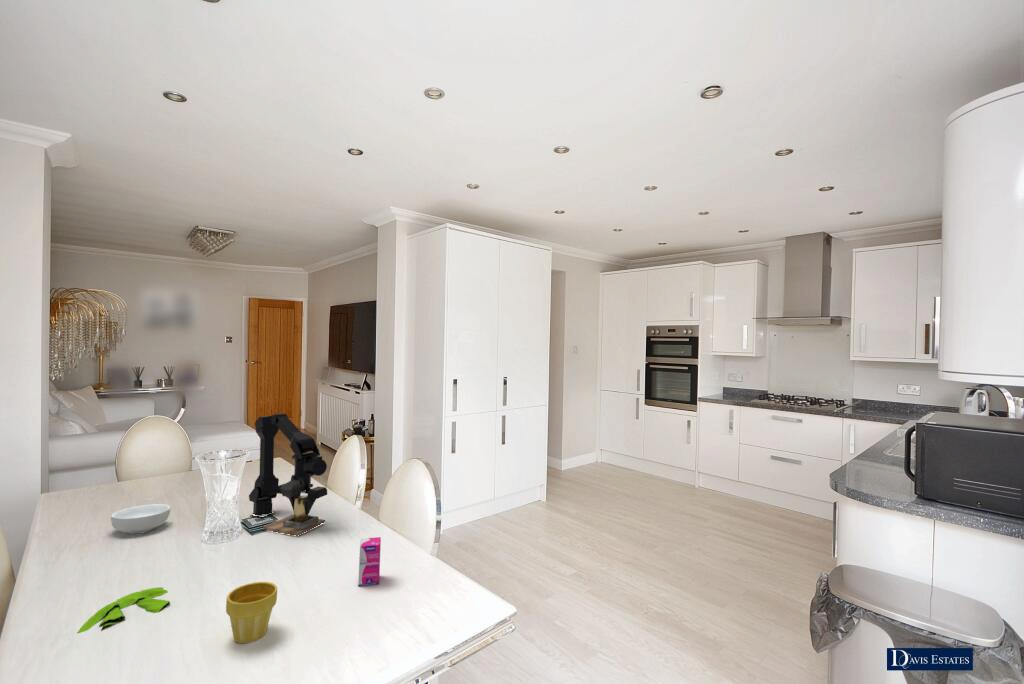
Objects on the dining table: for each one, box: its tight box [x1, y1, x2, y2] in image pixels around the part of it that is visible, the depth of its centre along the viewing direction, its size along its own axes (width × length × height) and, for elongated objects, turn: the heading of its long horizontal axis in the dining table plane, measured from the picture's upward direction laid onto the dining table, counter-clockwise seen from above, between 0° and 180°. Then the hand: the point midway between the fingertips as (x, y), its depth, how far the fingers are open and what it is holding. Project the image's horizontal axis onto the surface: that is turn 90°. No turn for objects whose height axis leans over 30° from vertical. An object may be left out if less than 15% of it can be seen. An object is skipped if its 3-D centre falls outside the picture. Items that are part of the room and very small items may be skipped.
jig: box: [262, 514, 326, 536], centre depth 172 cm, size 16×14×4 cm
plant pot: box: [225, 581, 278, 644], centre depth 106 cm, size 10×10×10 cm
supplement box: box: [357, 536, 382, 587], centre depth 133 cm, size 6×6×12 cm
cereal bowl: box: [110, 503, 171, 535], centre depth 167 cm, size 17×17×7 cm
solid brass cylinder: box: [293, 495, 309, 523], centre depth 172 cm, size 5×5×9 cm
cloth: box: [76, 586, 171, 634], centre depth 115 cm, size 20×22×2 cm
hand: (301, 513), depth 172 cm, fingers closed on solid brass cylinder, 5 cm apart
